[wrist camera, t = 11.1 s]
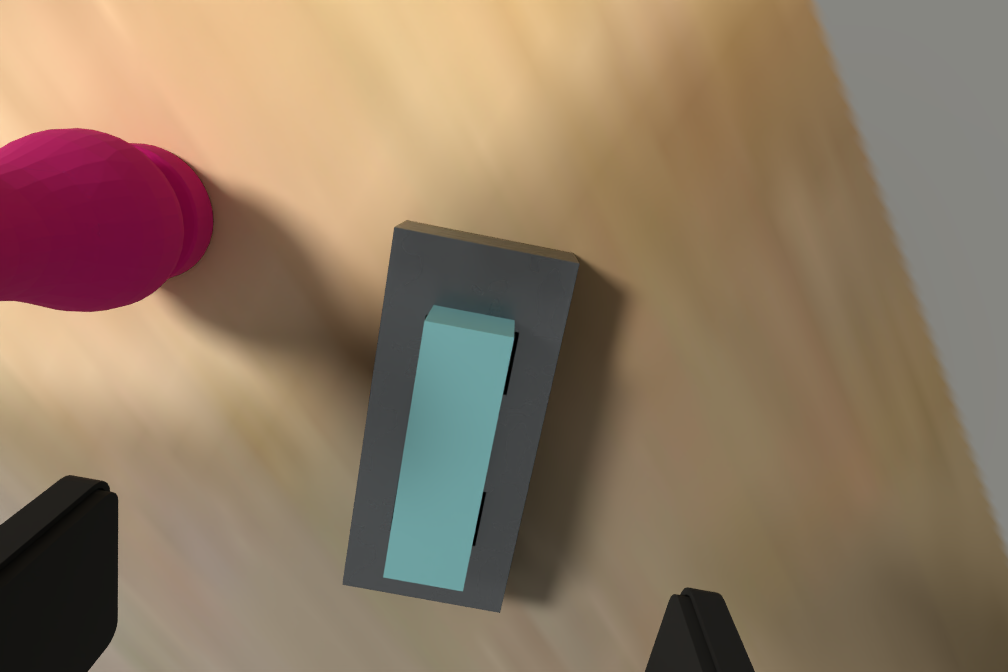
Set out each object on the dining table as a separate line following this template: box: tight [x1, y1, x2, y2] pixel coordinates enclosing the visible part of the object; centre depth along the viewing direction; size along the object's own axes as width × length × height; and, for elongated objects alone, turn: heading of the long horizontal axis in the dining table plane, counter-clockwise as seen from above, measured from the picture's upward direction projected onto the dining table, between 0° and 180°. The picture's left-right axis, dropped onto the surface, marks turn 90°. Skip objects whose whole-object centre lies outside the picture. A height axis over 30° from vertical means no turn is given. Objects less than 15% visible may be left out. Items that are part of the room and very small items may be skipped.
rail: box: [343, 220, 579, 613], centre depth 31 cm, size 18×8×3 cm, turn 169°
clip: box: [383, 305, 515, 591], centre depth 30 cm, size 12×4×6 cm, turn 169°
